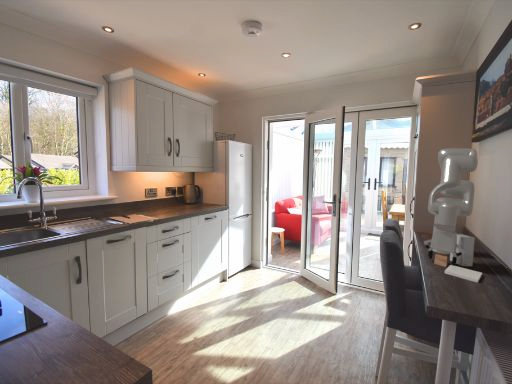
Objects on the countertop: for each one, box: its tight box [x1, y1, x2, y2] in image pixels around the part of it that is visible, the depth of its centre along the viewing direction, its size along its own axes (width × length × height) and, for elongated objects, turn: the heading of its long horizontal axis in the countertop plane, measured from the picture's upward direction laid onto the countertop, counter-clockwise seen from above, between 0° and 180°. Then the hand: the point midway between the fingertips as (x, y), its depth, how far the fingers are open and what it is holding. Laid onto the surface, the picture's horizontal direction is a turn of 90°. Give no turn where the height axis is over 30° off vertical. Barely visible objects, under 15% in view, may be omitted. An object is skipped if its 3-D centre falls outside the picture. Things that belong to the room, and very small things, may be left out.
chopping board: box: [444, 264, 483, 284], centre depth 121 cm, size 12×12×1 cm
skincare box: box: [449, 233, 476, 267], centre depth 135 cm, size 8×6×15 cm
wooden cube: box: [433, 252, 450, 268], centre depth 133 cm, size 5×5×5 cm
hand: (441, 261), depth 133 cm, fingers open, 9 cm apart
